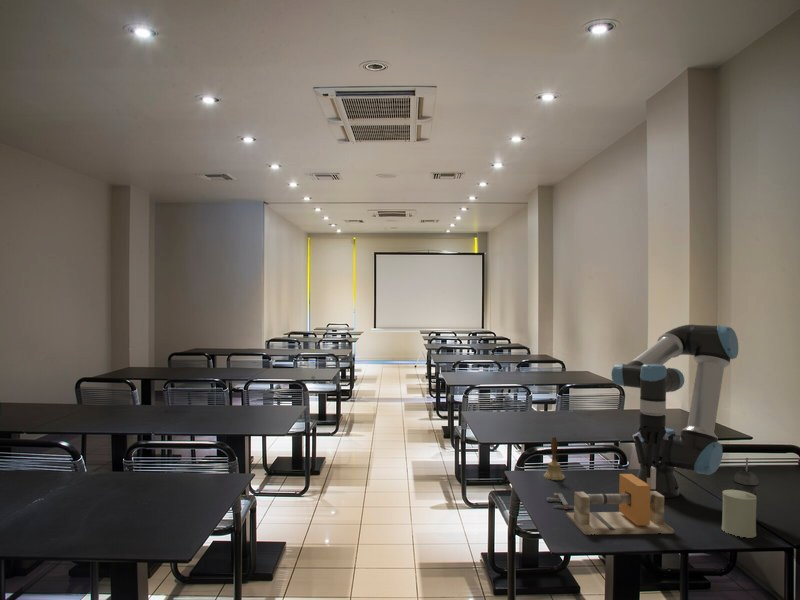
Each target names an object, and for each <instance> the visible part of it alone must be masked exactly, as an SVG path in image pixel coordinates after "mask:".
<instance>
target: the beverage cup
mask: <svg viewBox="0 0 800 600" xmlns="http://www.w3.org/2000/svg"><path fill="white" fill-rule="evenodd" d="M748 464H749V457H745V469H740V470H739V471H736V472H735V474H734V476H733V480H732V482H733V487H734V490H740V491H745V492H748V493H751V494H753V495H755V496H756V497H757V491H759V490H758V489H759V485H760V484H759V480H758V477H757V475H756V474H755V473H753V472H752V471H751V470H749V469H748V467H749V466H748Z"/></svg>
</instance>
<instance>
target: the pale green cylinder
mask: <svg viewBox="0 0 800 600" xmlns="http://www.w3.org/2000/svg"><path fill="white" fill-rule="evenodd" d="M721 519H722V520H721V530H722V531H723V532H724V531H725V532H724V533H726V534H728V533H729V534H728V535H730V534H732V535H731V536H733V535H735V536H734V537H737V536H740V537H739V538H743V537H746V538H745V539H750V538H751V539H752V538H755V537H757V495H756V496H755V495H753V494H751V493H748V492H745V491H740V490H735V489H724V490H722V518H721Z"/></svg>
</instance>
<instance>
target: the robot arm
mask: <svg viewBox="0 0 800 600" xmlns="http://www.w3.org/2000/svg"><path fill="white" fill-rule="evenodd" d="M682 355H683V356H684V355H686V356H693V359H694V361H695V362H696V363H697V365H696V366H697V367H696V372H695V378H694V383H693V390H692V396H691V401H690V408H689V412H688V413H689V414H688V419H687V425H686V426H685V427H684V428H682V429H681V433H680V435H679V434H676V433H677V432H676V431H675V429H674V428H673V429H672V428H667V427H666V422H667V421H666V417H667V416H666V415H665V414H666V411H667V407H666V406H667V405H666V404H667V393H672V392H677V391H678V390H680V389H682V388H683V386H684V384H685V376H684V374H683V372H682V371H680V370H679V369H677V368H674V367H672V368H671V367H666V366H665V365H664V364H666V363H667V362H669V361H670V360H671V359H673V358H678V357H679V356H682ZM738 355H739V340H738V336H737V332H735V330H734V329H733V328H732V327H731V326H726V325H725V326H724V325H705V324H703V325H700V324H685V325H680V326H677V327H675V328H672V329H670V330H667V331H666V332H665V333H663V334H662V335H660V336H659V337H658V339H657V341H656V342H655V343H654V344H652V345H651V346H650V347H649V348H647V349H646V350H645V351H643V352H642V353H640V354H639V355H638V356H636V357H635V358H634V359H632V360H631V361H629V362H628V363H627V364H626V363H625V364H624V363H616V364H615V365H614V366H613V367H612V369H611V380H612V382H613V384H615V385H616V386H622V387H627V388H637V389H639V391H640V395H639V411H640V413H639V428H638V432H637V433H635V434H631V435H630V437H631V439H632V441H633V442H634V447H635V452H636V456H637V457H636V458H637V461H638V464H639V470H638V472H637V475H636V477H637V478H639V479H640V480H642V481H643V482H645V483H647V484H648V485H650V491H657V492H658V493H660V494H661V495H663V496H664V499H669V498H670V499H671V498H676V497H678V496H680V486H679V483H678V479H677V477H676V474H675V468H676V469H681V470H685V471H688V472H693V473H695V474H703V475H708V476H709V475H713V474H714V473H716V471H717V470H718V469H719V467H720V466H721V462H722V459H723V453H724V452H723V450H724V449H723V445H722V444H721V443H720V442H719V438H718V436H717V435H716V433H715V427H716V421H717V415H718V408H719V402H720V397H721V389H722V383H723V377H724V370H725V368H726V367H729V365H730V362H731V360H734V359H737V357H738Z"/></svg>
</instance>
